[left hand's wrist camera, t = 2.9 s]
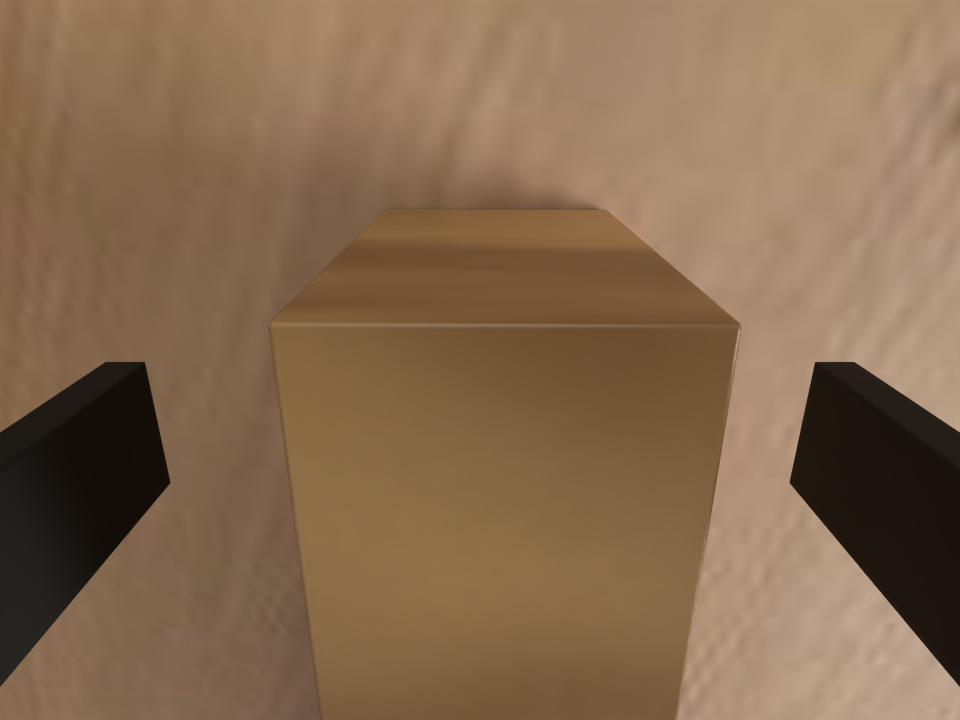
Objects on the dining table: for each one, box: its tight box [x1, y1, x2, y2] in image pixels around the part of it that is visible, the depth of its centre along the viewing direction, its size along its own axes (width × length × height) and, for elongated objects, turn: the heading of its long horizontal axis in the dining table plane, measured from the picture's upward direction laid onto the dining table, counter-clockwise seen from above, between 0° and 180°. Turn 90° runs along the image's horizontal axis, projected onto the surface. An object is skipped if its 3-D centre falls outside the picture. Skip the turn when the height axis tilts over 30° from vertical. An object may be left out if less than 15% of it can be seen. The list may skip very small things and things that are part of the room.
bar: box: [269, 209, 741, 720], centre depth 15 cm, size 22×5×8 cm, turn 0°
